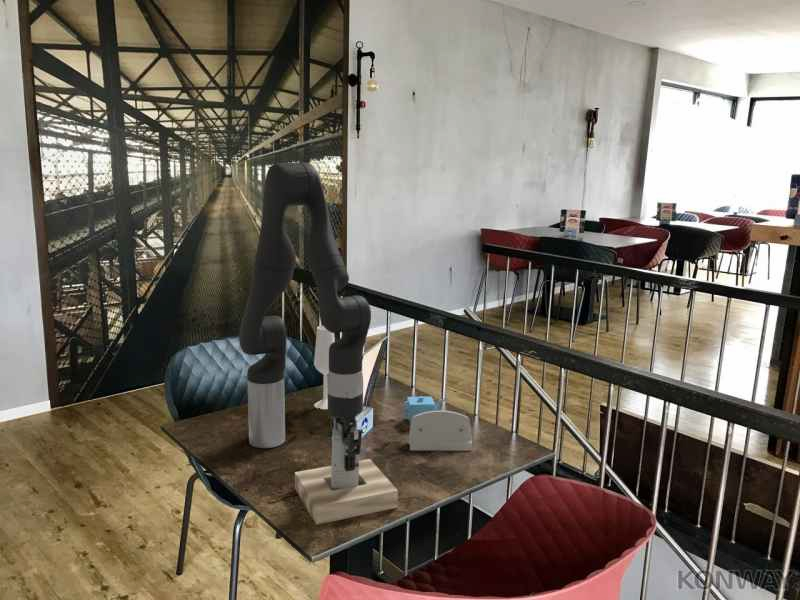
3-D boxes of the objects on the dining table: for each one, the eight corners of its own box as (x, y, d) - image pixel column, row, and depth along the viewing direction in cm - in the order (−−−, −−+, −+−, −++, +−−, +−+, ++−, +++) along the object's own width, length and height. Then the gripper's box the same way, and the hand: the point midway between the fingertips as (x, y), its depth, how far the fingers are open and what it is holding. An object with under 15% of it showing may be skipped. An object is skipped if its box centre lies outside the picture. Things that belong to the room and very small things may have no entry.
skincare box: (330, 489, 141) (330, 436, 138) (331, 478, 145) (331, 427, 142) (359, 488, 141) (360, 436, 138) (359, 478, 145) (359, 427, 143)
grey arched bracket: (408, 450, 168) (409, 410, 169) (407, 448, 172) (408, 410, 174) (473, 450, 168) (473, 411, 170) (471, 448, 173) (470, 410, 174)
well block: (295, 488, 147) (294, 472, 146) (369, 474, 154) (369, 458, 153) (316, 524, 133) (316, 506, 132) (397, 507, 140) (397, 490, 139)
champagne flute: (341, 405, 197) (341, 327, 192) (324, 411, 192) (323, 331, 187) (326, 399, 201) (326, 323, 196) (309, 404, 197) (309, 327, 192)
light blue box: (442, 417, 190) (443, 392, 188) (446, 425, 184) (447, 400, 182) (401, 418, 189) (402, 393, 187) (403, 426, 183) (404, 401, 181)
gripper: (318, 381, 143) (318, 453, 147) (339, 403, 130) (339, 482, 134) (350, 377, 146) (350, 448, 150) (374, 399, 133) (373, 475, 137)
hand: (345, 463), depth 142 cm, fingers closed on skincare box, 5 cm apart
